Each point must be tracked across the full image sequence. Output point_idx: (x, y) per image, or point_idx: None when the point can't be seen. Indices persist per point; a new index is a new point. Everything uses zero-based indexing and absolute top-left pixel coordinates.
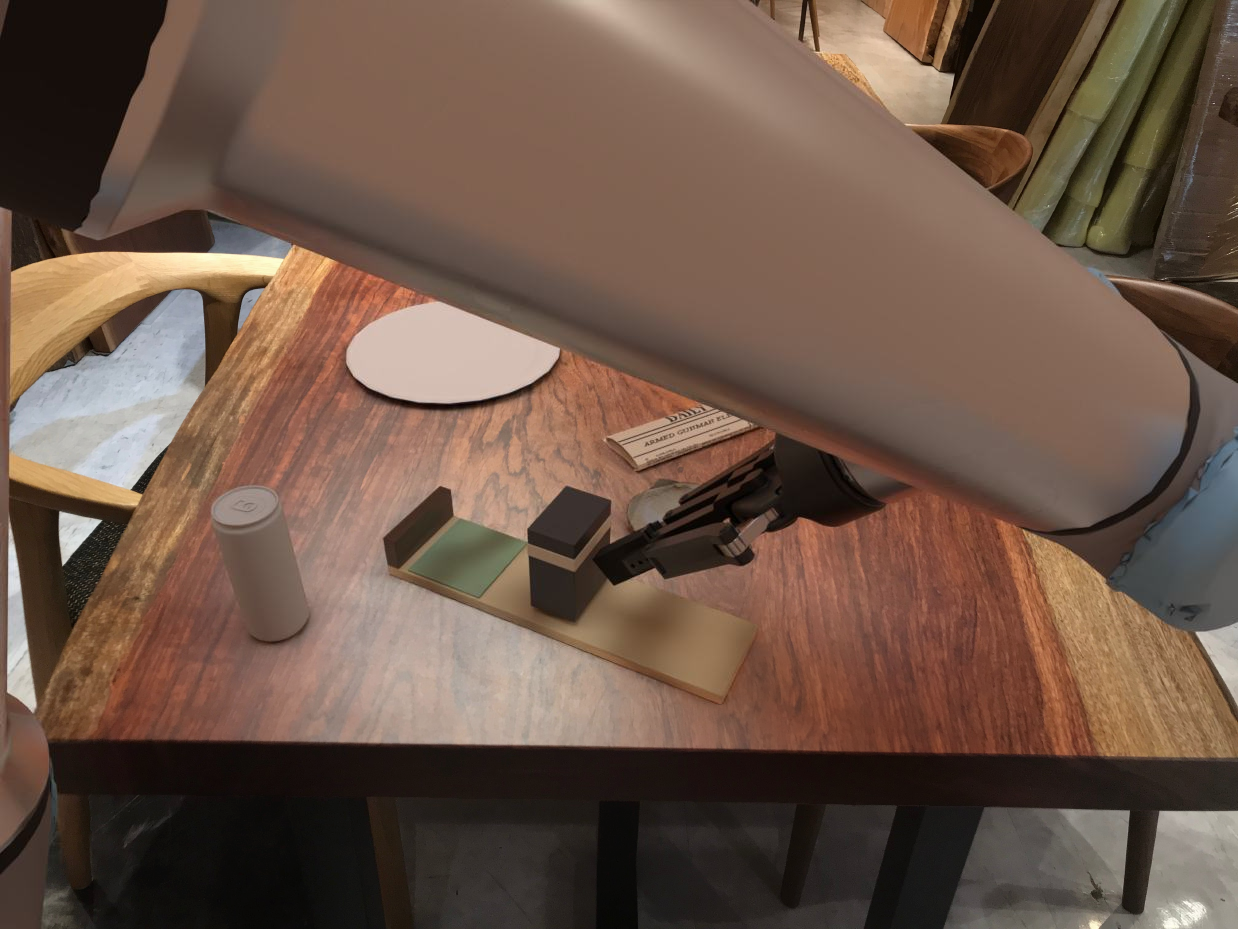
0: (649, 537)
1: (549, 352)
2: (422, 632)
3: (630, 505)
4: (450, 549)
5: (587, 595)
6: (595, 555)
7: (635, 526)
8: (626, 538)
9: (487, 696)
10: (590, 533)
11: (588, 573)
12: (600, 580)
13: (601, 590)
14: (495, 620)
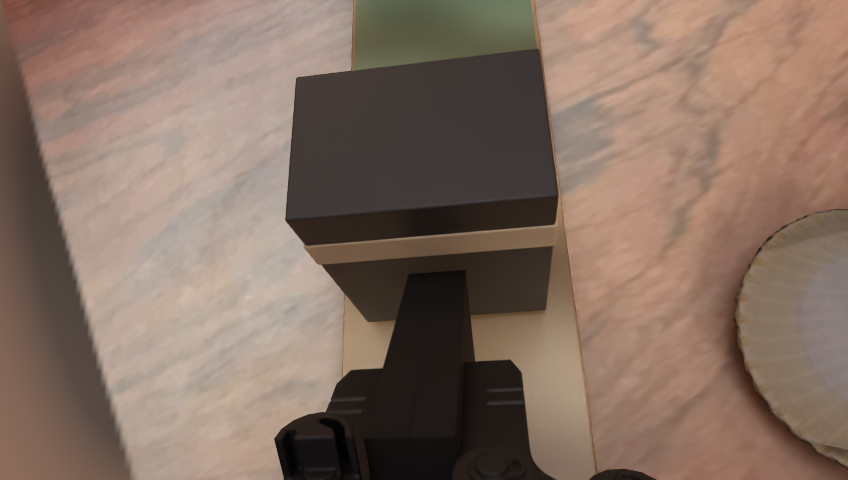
0: (289, 469)
1: None
2: (266, 104)
3: (817, 218)
4: (439, 13)
5: None
6: (429, 272)
7: (757, 270)
8: (432, 338)
9: (179, 276)
10: (401, 225)
11: None
12: (492, 305)
13: (503, 316)
14: None
